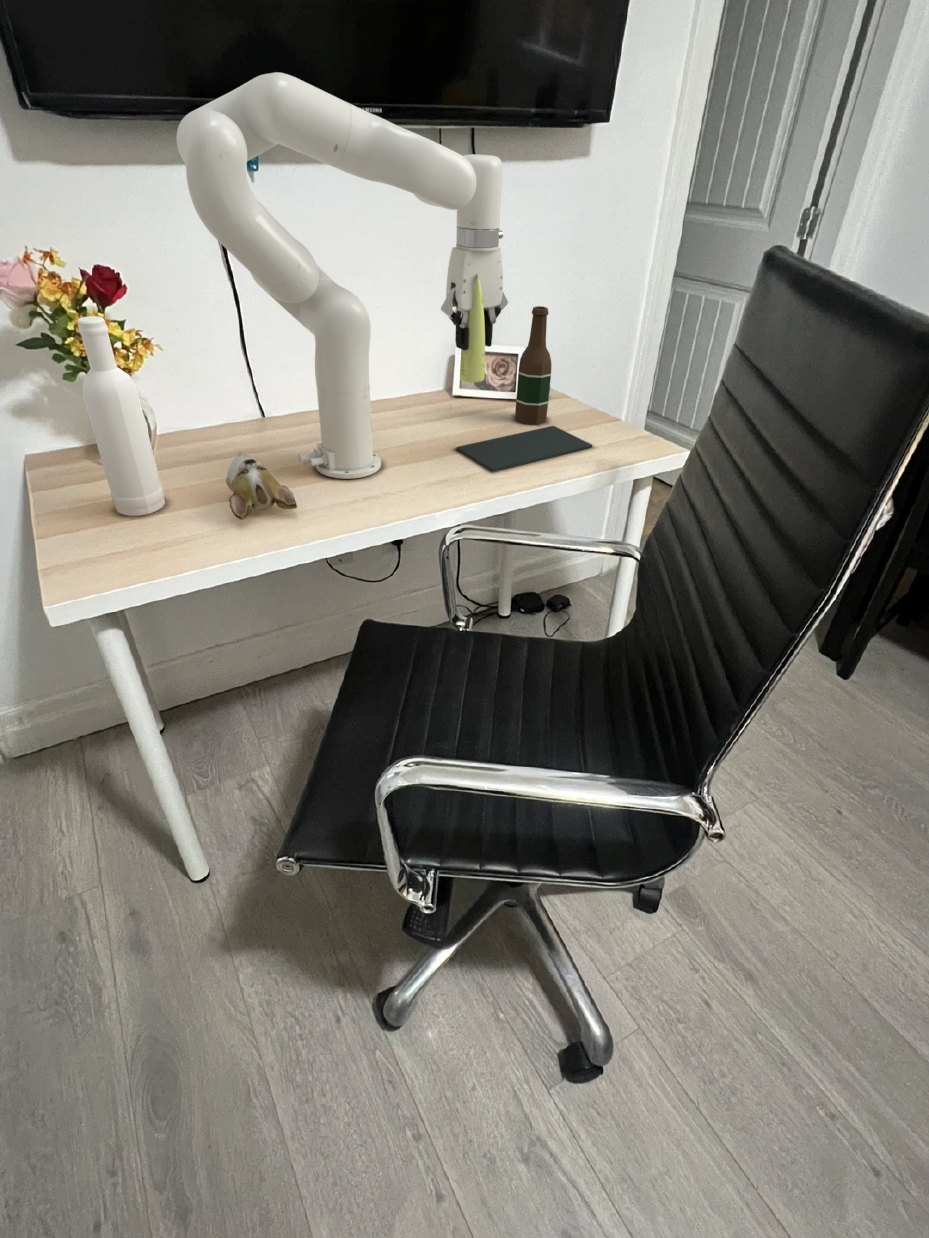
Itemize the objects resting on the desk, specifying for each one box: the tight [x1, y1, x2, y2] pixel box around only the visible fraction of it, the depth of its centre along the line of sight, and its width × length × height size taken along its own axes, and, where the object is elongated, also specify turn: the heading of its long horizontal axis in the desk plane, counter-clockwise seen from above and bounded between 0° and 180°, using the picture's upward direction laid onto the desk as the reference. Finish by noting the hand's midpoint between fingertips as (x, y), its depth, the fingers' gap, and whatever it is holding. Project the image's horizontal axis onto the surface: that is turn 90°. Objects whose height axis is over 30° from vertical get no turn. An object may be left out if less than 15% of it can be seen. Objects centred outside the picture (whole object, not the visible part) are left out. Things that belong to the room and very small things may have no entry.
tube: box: [459, 274, 486, 384], centre depth 129 cm, size 6×5×20 cm
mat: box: [455, 425, 593, 473], centre depth 144 cm, size 26×13×1 cm, turn 124°
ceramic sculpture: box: [225, 451, 298, 521], centre depth 116 cm, size 11×9×15 cm
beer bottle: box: [514, 305, 552, 426], centre depth 151 cm, size 8×8×24 cm
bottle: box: [76, 315, 166, 517], centre depth 108 cm, size 8×8×30 cm
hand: (473, 345), depth 131 cm, fingers closed on tube, 4 cm apart
